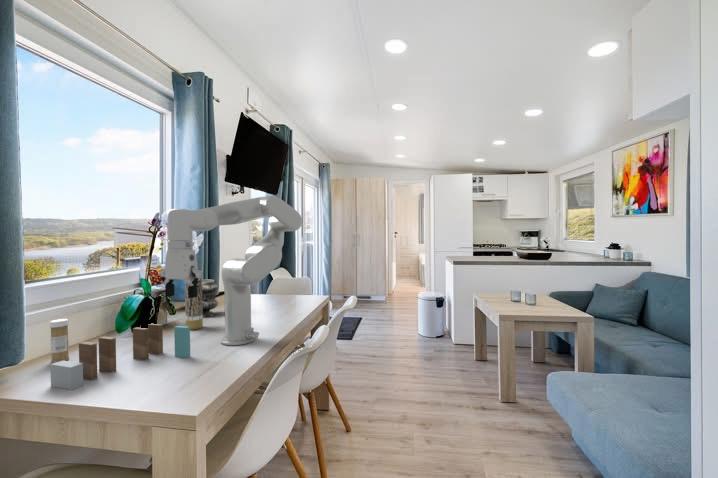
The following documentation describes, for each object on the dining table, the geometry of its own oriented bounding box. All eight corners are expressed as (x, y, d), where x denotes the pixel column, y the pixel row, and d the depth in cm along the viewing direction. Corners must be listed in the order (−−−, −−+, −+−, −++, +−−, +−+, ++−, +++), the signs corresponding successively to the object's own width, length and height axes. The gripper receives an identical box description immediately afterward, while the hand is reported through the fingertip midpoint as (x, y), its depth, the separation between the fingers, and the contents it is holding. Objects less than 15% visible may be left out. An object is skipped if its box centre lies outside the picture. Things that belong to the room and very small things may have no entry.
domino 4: (152, 351, 122) (151, 323, 122) (163, 352, 120) (162, 324, 120) (148, 353, 120) (147, 324, 120) (159, 354, 119) (158, 325, 119)
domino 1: (85, 375, 101) (84, 341, 101) (97, 377, 99) (96, 343, 99) (79, 378, 99) (78, 343, 99) (91, 380, 98) (90, 344, 98)
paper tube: (197, 325, 157) (196, 270, 157) (205, 327, 153) (204, 271, 153) (182, 328, 152) (181, 271, 151) (190, 331, 148) (189, 272, 147)
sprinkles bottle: (70, 357, 117) (70, 317, 116) (66, 361, 113) (65, 320, 112) (53, 359, 115) (52, 319, 114) (48, 364, 111) (47, 322, 110)
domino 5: (178, 354, 118) (178, 325, 118) (190, 356, 116) (189, 326, 116) (174, 356, 116) (174, 326, 116) (186, 357, 115) (186, 327, 115)
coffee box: (156, 323, 162) (155, 289, 162) (167, 323, 161) (167, 289, 161) (139, 328, 153) (139, 292, 153) (152, 329, 152) (151, 292, 152)
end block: (83, 385, 94) (82, 363, 94) (71, 390, 91) (70, 367, 91) (63, 381, 97) (62, 360, 97) (50, 386, 94) (50, 364, 94)
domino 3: (137, 356, 117) (137, 327, 116) (148, 358, 115) (148, 328, 115) (133, 358, 115) (132, 328, 115) (144, 359, 113) (143, 329, 113)
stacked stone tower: (215, 317, 173) (215, 281, 173) (189, 318, 171) (189, 282, 170) (220, 312, 185) (219, 278, 185) (195, 313, 182) (195, 279, 182)
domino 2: (104, 368, 106) (103, 336, 106) (116, 370, 104) (115, 337, 104) (99, 370, 105) (98, 337, 104) (111, 372, 103) (110, 339, 103)
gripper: (209, 245, 117) (210, 296, 117) (169, 245, 122) (170, 294, 122) (192, 246, 110) (192, 300, 110) (150, 246, 115) (151, 297, 115)
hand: (181, 296), depth 116 cm, fingers open, 9 cm apart
